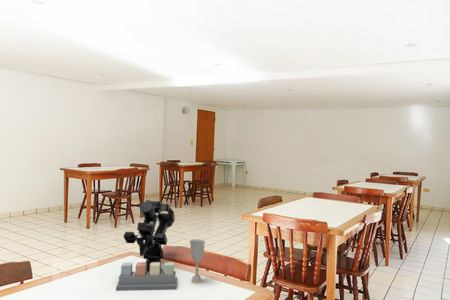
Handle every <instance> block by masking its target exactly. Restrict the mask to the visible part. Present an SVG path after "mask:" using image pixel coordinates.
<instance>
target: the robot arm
mask: <svg viewBox="0 0 450 300" xmlns="http://www.w3.org/2000/svg"><path fill="white" fill-rule="evenodd" d="M139 210H140V213H141V215H142V218H143V222H138V223H137V226H136V227H137V229H136V230H137V231H138V234H135V232H134V231H126V232H124V234H123V239H124V241H125V242H126V243H127V244H135V243H137V245H138V247H139V255H140V257H143V259H144V260H145V259H146V260H145V262H146V272H149V271H150V264H151V262H160V271H163V269H162V259H164V256H165V253H164V250H163V246H165V245H167V244H168V238H167V234H166V232H167V230H168V228H170V227H172V226H173V224H174V223H175V220H176V217H175V211H174V210H173V209H172V208H171V206H170V204H169V203H163V202H162V201H158V200H156V201H155V200H151V199H146V200H145V201H144V202H142V203H141V204H140V205H139ZM163 212H164V213H163ZM157 222H158V226H157V228H156V225H157Z"/></svg>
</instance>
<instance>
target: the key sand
mask: <svg viewBox="0 0 450 300" xmlns="http://www.w3.org/2000/svg"><path fill="white" fill-rule="evenodd" d="M150 276H160V262H151V264H150Z"/></svg>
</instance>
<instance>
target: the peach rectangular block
mask: <svg viewBox="0 0 450 300" xmlns="http://www.w3.org/2000/svg"><path fill="white" fill-rule="evenodd" d="M135 272H136V276H146V272H147V271H146V261H145V262H136V263H135Z"/></svg>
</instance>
